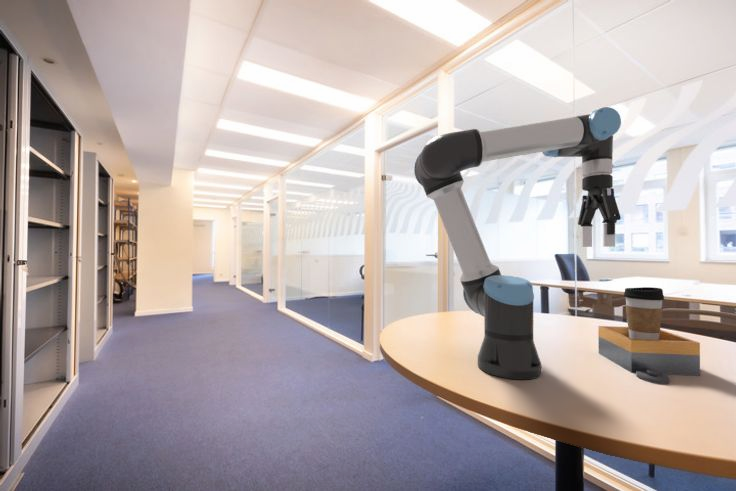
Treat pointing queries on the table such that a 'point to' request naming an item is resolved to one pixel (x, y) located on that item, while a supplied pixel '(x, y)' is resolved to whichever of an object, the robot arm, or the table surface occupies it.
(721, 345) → the table surface
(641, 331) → the coffee cup
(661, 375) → the disc
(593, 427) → the table surface
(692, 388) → the table surface
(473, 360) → the table surface
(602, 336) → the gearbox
